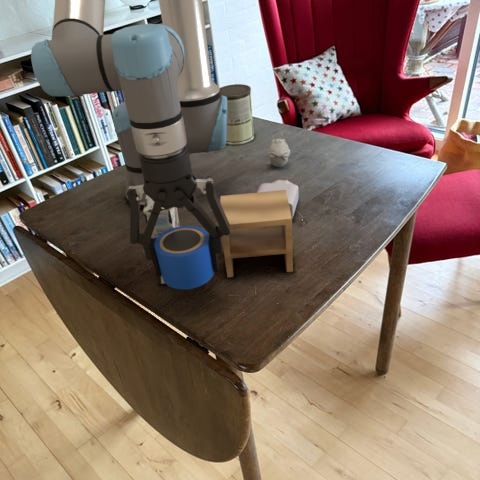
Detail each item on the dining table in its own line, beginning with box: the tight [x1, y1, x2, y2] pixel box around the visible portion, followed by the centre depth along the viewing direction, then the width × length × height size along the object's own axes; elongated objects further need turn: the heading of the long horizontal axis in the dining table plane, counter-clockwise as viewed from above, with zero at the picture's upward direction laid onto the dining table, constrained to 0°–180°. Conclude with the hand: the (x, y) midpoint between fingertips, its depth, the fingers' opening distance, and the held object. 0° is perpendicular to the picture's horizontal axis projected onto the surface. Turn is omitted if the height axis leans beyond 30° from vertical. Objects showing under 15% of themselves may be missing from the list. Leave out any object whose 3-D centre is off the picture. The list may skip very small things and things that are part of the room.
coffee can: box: [219, 83, 255, 146], centre depth 137 cm, size 10×10×14 cm
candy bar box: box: [142, 195, 181, 285], centre depth 90 cm, size 11×5×16 cm, turn 4°
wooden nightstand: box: [219, 190, 294, 278], centre depth 91 cm, size 11×13×12 cm
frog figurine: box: [267, 138, 291, 168], centre depth 123 cm, size 6×7×7 cm
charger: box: [256, 179, 299, 220], centre depth 109 cm, size 5×9×15 cm
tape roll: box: [154, 225, 215, 290], centre depth 81 cm, size 10×10×7 cm
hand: (188, 270), depth 83 cm, fingers closed on tape roll, 10 cm apart
